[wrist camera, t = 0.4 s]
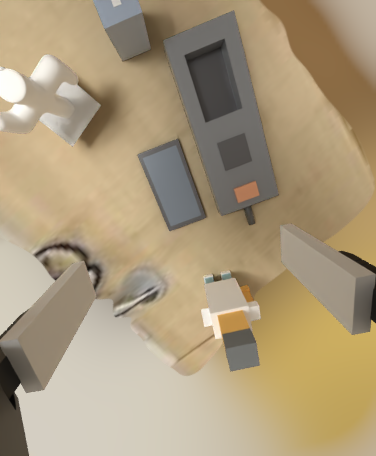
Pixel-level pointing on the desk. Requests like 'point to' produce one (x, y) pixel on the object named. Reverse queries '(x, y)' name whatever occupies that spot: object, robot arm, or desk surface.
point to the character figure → (232, 319)
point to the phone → (172, 184)
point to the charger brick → (124, 26)
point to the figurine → (46, 100)
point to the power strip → (222, 113)
